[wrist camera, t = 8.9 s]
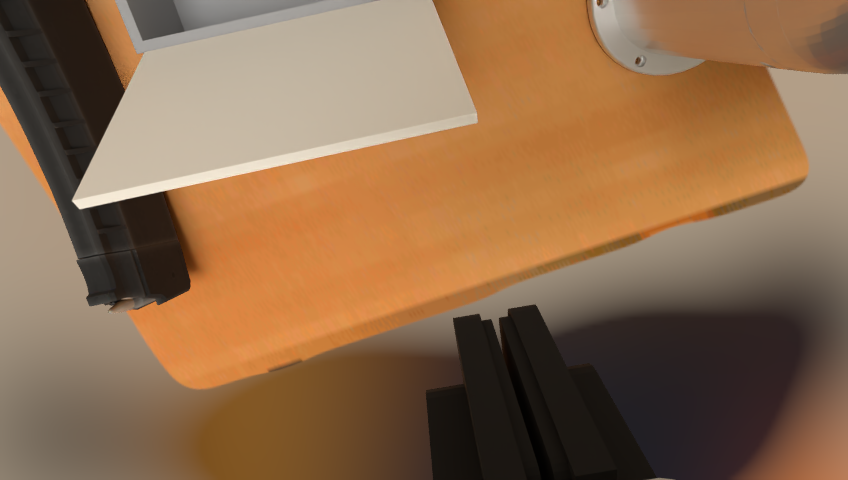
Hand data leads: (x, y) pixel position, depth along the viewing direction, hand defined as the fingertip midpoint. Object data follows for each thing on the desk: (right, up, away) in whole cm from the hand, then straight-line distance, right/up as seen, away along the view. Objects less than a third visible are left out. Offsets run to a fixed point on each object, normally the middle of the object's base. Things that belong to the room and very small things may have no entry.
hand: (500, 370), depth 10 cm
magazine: (-25, +13, +28) cm, 40 cm away
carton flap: (-9, +11, +15) cm, 20 cm away
